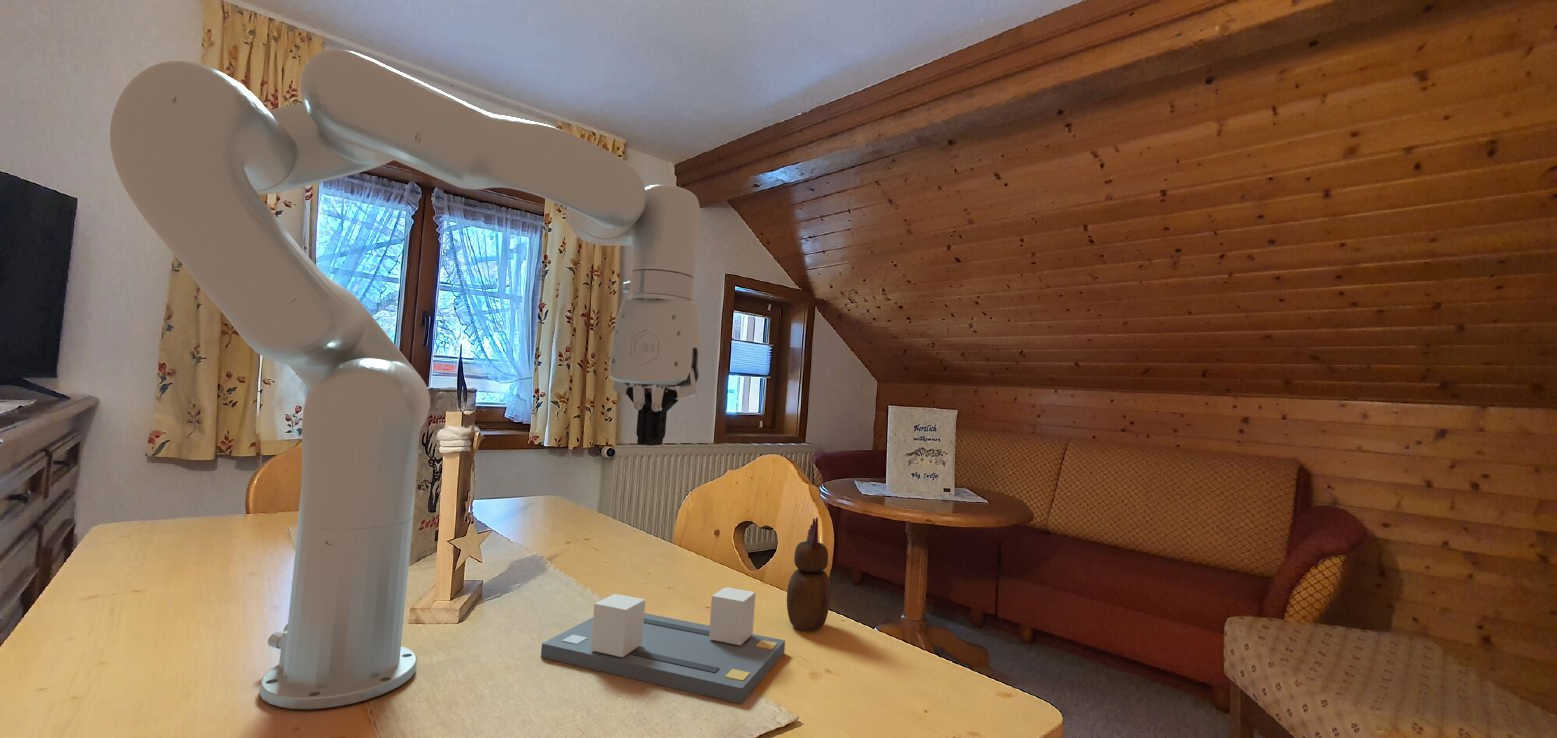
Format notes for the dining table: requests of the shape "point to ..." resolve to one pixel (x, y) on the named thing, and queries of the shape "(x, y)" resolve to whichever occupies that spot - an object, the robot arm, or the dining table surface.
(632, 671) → the switch panel
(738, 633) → the tab far
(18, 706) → the dining table surface
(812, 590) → the wooden figurine
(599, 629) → the tab near
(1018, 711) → the dining table surface
